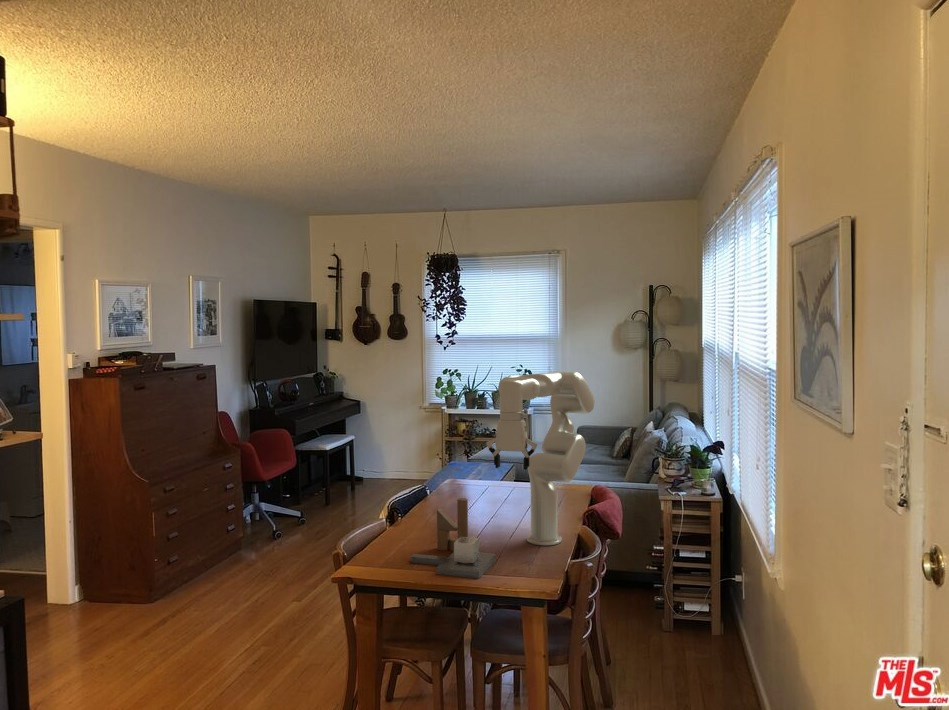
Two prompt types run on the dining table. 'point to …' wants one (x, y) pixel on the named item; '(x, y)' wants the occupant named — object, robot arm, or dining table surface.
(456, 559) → the socket
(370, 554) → the dining table surface
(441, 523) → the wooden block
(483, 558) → the tang block
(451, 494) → the dining table surface
